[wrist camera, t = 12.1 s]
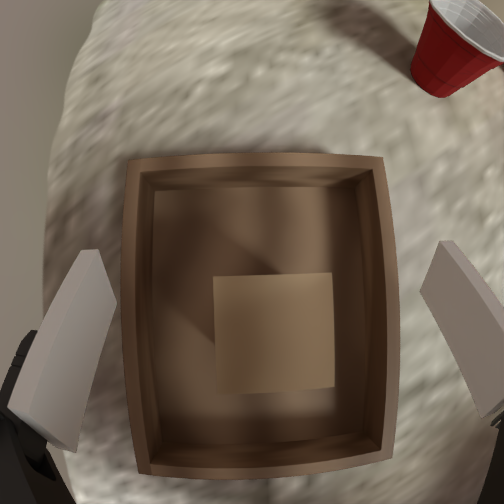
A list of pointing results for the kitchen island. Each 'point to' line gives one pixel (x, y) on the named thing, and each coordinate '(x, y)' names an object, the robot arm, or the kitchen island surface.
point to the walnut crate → (245, 264)
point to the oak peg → (274, 333)
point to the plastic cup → (457, 46)
